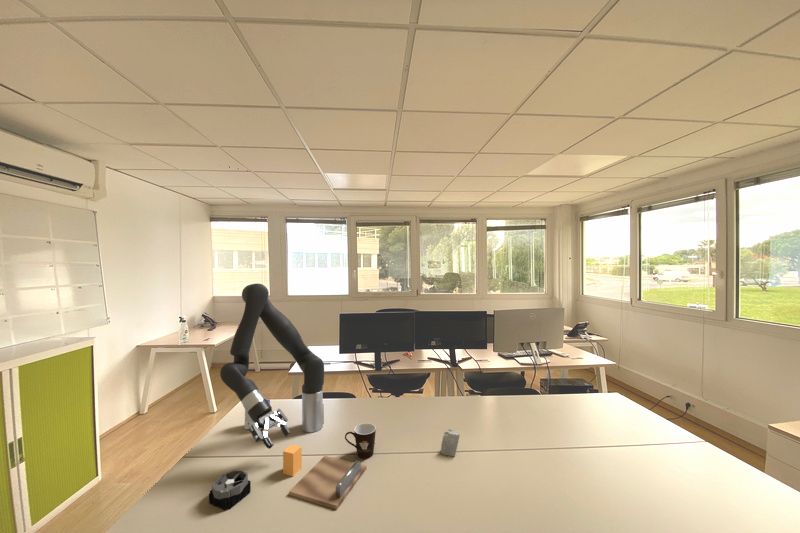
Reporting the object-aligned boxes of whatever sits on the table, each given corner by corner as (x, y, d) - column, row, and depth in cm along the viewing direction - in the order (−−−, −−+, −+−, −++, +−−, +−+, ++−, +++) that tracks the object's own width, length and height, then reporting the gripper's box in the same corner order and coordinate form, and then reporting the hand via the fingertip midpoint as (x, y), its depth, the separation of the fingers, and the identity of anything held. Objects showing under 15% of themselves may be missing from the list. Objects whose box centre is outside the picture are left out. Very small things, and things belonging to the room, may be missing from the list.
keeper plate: (324, 458, 116) (324, 445, 116) (366, 468, 110) (366, 454, 110) (289, 495, 98) (289, 479, 98) (336, 509, 91) (336, 492, 91)
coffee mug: (380, 450, 121) (379, 425, 121) (369, 463, 113) (368, 436, 113) (355, 444, 126) (355, 420, 126) (343, 455, 118) (343, 429, 118)
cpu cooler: (233, 466, 104) (255, 473, 100) (233, 482, 104) (255, 490, 100) (204, 486, 95) (226, 494, 91) (204, 504, 94) (226, 514, 90)
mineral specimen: (463, 455, 116) (459, 435, 116) (441, 458, 118) (437, 438, 118) (463, 444, 123) (459, 425, 123) (442, 446, 125) (438, 427, 125)
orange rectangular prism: (291, 466, 112) (291, 444, 112) (301, 468, 111) (301, 446, 111) (283, 473, 108) (283, 451, 108) (293, 476, 106) (293, 453, 107)
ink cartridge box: (270, 424, 143) (270, 394, 143) (264, 430, 138) (263, 399, 138) (251, 423, 144) (251, 393, 145) (244, 429, 139) (244, 398, 139)
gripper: (246, 407, 108) (271, 445, 104) (275, 392, 121) (298, 425, 117) (235, 419, 110) (259, 457, 106) (265, 403, 123) (287, 436, 119)
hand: (280, 440), depth 111 cm, fingers open, 8 cm apart
